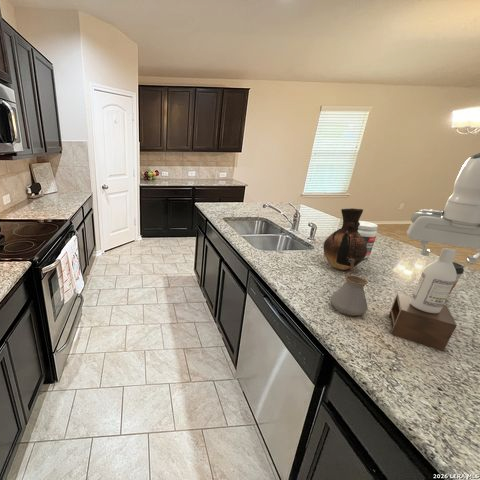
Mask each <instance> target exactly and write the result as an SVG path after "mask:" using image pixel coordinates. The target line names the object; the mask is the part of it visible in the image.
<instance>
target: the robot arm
mask: <svg viewBox="0 0 480 480" xmlns="http://www.w3.org/2000/svg"><path fill="white" fill-rule="evenodd" d="M410 221H411V222H410V225H409V227H408V229H407V231H406V236H407V238H408V239H410V240H414V241H419V243H420V246H421V248H422V249H421V252H420V255H421V256H424V257H425V256H426V257H429V256H430V254H431V250H430V249H429V248H427V247H426V246H428V245H429V243H434V244H440V245H447V246H453V247H458V248H459V247H460V248H467V249H472V250H473V249H474V250H477V252H476V253H475V254H474V255H468V256H467V259H466V261H465V262H466V264H470V265H477V263H478V261H479V260H480V152H478V153H476V154H473V155H471V156H470V157H468V158H467V159H466V161H465V162H464V164H463V165H462V167H461V168H460V171H459V173H458V174H457V177H456V179H455V181H454V184H453V192H452V194H451V195H450V196H449V197H448V199H447V201H446V203H445V206H444V209H443V210H439V209H427V208H421V209H419V210H416V211H414V212H413V213H412V215H411V218H410Z"/></svg>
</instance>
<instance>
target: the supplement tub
mask: <svg viewBox="0 0 480 480" xmlns="http://www.w3.org/2000/svg"><path fill="white" fill-rule="evenodd" d="M359 223H360V225H359V226H358V232H359V233H360V235H361V236H362V237H363V239H364V240H365V243H366V245H367V253H366V256H365V258H364V259H363V260H365V259H369V258H370V257H371V253H372V250H373V247H374V245H375V241H376V239H377V236H378V231H377V230H378V227H379V225H378V224H376V223H373V222H370V221H364V220H359Z"/></svg>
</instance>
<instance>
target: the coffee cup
mask: <svg viewBox="0 0 480 480" xmlns="http://www.w3.org/2000/svg"><path fill="white" fill-rule="evenodd" d="M453 265H454V267H455V269H456V273H457V276H456V280H455V283H454V285H453V287H452V289H451V291H450V293H449V295H451V293H452V291H453V290H454V289H455V287H456V285H457V283H458V282H459V280H460V278H461V276H462V275H463V274H464V272H465V269H464V268H465V267H464V265H463V264H461V263H458V262H455V261H453ZM449 295H448V297H449Z"/></svg>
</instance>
